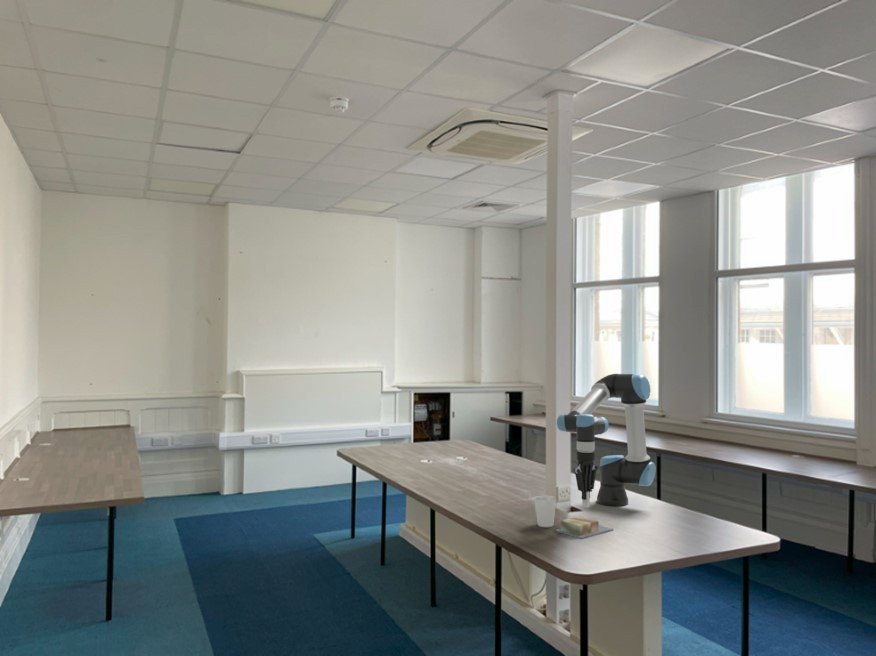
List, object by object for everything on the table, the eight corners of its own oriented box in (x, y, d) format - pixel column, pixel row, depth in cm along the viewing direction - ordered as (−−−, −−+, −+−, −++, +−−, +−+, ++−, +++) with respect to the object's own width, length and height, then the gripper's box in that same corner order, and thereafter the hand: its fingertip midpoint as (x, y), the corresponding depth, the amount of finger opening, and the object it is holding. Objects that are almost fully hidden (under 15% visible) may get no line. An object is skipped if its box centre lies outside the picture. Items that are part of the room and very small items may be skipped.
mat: (587, 523, 291) (587, 521, 291) (613, 530, 280) (613, 528, 280) (556, 531, 279) (555, 529, 279) (581, 538, 268) (581, 537, 268)
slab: (580, 516, 285) (560, 520, 278) (598, 521, 277) (579, 526, 270) (580, 525, 285) (561, 530, 278) (598, 530, 277) (579, 535, 270)
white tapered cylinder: (556, 523, 291) (556, 495, 291) (554, 528, 282) (554, 500, 283) (536, 521, 293) (536, 494, 294) (533, 527, 285) (533, 499, 285)
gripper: (588, 448, 288) (589, 502, 287) (568, 451, 280) (568, 507, 279) (602, 450, 282) (603, 506, 281) (582, 453, 274) (582, 511, 273)
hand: (586, 506), depth 280 cm, fingers closed
